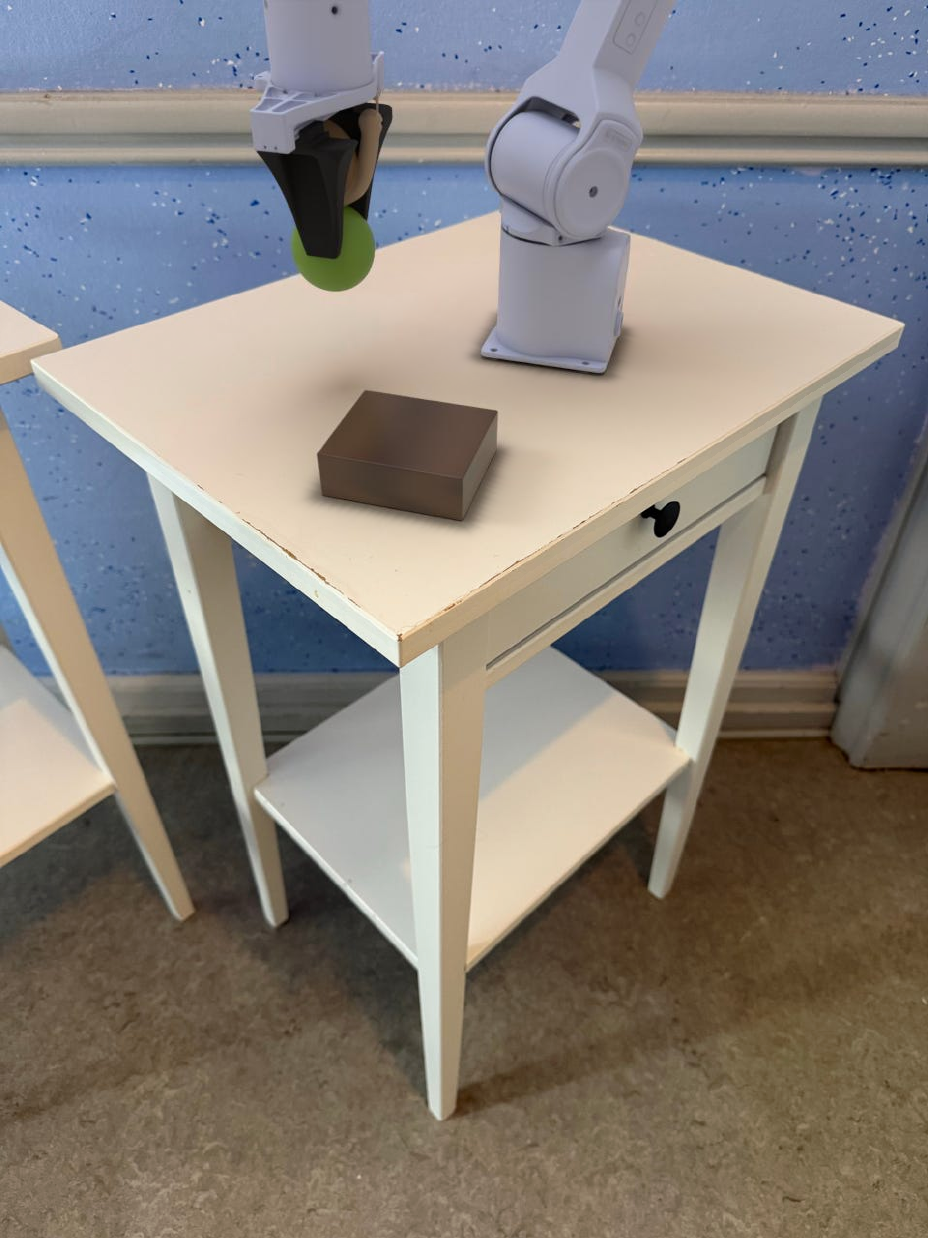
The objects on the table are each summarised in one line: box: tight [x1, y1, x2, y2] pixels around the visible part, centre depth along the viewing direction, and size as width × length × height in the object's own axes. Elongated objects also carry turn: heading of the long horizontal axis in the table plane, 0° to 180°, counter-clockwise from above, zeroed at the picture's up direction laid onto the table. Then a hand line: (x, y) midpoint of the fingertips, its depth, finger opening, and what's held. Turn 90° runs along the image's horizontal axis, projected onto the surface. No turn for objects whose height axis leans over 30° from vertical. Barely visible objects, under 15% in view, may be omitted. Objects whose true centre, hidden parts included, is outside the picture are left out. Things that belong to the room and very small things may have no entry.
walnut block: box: [316, 389, 499, 521], centre depth 56 cm, size 9×8×3 cm
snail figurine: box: [290, 86, 382, 293], centre depth 57 cm, size 5×6×12 cm
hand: (336, 242), depth 58 cm, fingers closed on snail figurine, 4 cm apart
